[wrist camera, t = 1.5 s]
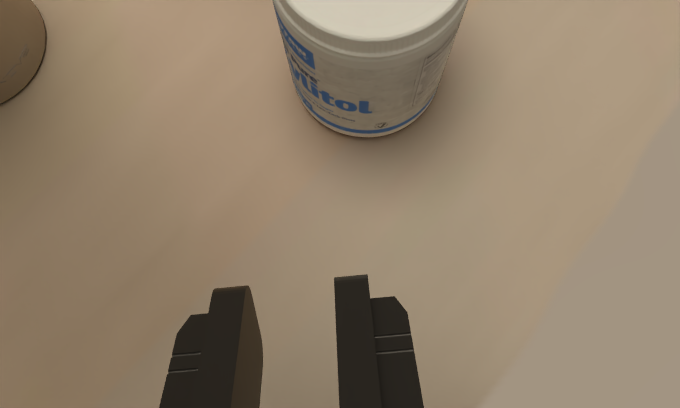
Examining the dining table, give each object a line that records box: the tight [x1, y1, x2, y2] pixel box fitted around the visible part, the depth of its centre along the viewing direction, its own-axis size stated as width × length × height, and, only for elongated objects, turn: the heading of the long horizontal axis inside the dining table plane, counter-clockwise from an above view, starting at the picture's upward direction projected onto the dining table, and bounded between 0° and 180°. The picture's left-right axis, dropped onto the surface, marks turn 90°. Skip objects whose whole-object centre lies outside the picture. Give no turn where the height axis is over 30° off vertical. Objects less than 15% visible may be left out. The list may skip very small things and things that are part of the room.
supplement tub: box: [273, 0, 468, 137], centre depth 35 cm, size 10×10×15 cm
